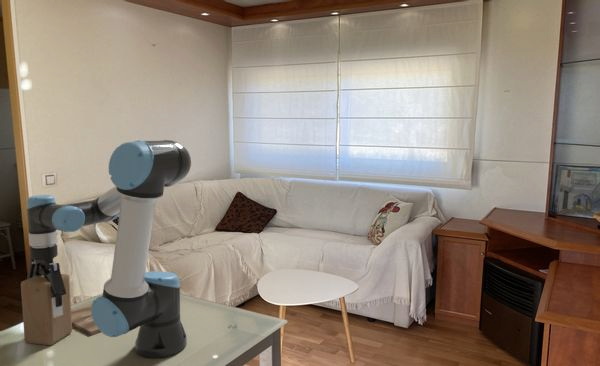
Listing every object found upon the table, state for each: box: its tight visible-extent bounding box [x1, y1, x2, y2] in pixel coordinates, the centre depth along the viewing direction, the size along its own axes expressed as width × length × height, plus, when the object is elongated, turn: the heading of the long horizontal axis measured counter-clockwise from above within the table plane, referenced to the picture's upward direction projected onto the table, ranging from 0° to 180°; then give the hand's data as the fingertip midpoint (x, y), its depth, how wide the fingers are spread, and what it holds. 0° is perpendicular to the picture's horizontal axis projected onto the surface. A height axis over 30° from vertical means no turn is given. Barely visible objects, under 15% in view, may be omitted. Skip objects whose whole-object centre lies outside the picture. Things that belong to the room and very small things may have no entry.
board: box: [71, 303, 102, 336], centre depth 160 cm, size 22×14×1 cm, turn 54°
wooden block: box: [20, 273, 73, 346], centre depth 145 cm, size 10×10×20 cm
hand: (47, 310), depth 145 cm, fingers open, 13 cm apart
